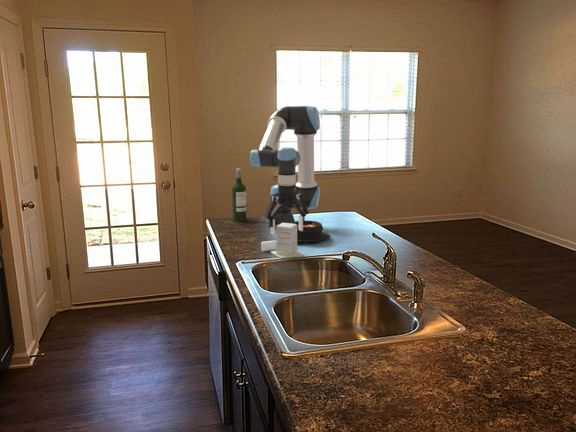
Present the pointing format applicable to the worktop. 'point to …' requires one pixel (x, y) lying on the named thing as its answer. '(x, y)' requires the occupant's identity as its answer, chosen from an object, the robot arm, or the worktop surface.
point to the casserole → (310, 232)
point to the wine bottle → (239, 198)
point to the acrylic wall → (268, 245)
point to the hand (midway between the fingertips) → (287, 232)
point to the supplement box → (286, 239)
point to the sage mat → (287, 255)
